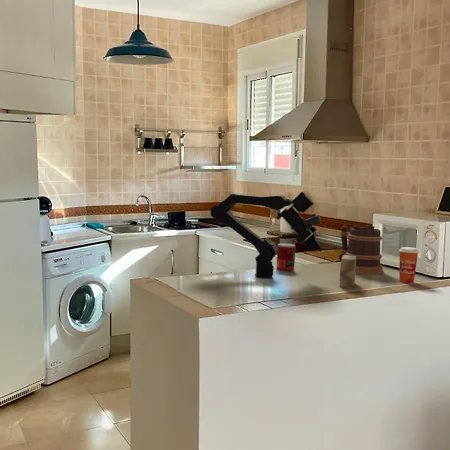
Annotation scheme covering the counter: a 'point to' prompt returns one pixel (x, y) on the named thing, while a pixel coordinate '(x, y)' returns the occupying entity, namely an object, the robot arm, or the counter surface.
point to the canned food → (285, 257)
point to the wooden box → (347, 271)
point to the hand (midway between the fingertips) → (321, 250)
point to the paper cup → (408, 264)
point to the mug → (363, 248)
